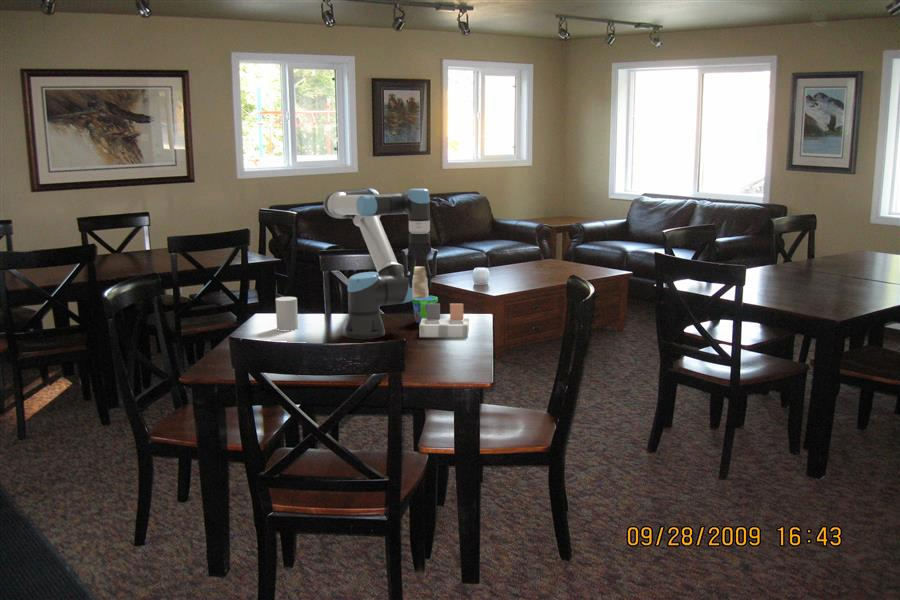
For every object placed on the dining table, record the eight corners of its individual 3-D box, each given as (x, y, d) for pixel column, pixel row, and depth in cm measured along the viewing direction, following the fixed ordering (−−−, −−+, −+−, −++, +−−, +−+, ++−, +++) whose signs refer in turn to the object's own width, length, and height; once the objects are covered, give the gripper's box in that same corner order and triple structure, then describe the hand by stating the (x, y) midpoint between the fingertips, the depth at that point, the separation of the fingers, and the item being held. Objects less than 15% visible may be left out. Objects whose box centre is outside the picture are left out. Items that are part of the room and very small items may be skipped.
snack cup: (416, 317, 347) (415, 293, 345) (441, 318, 346) (440, 294, 344) (408, 326, 332) (407, 301, 330) (434, 327, 330) (434, 301, 328)
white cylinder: (286, 325, 335) (285, 296, 333) (302, 327, 331) (301, 297, 329) (272, 329, 328) (271, 299, 326) (288, 332, 324) (287, 301, 322)
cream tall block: (414, 298, 304) (413, 268, 301) (415, 296, 307) (415, 266, 305) (425, 298, 303) (425, 268, 301) (426, 296, 307) (426, 266, 305)
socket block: (419, 337, 314) (419, 309, 312) (422, 329, 326) (421, 303, 324) (467, 337, 313) (467, 309, 311) (468, 329, 325) (468, 303, 323)
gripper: (394, 233, 298) (395, 298, 302) (442, 233, 296) (443, 298, 301) (396, 231, 305) (398, 294, 309) (443, 231, 304) (444, 294, 308)
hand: (420, 296), depth 305 cm, fingers closed on cream tall block, 4 cm apart
